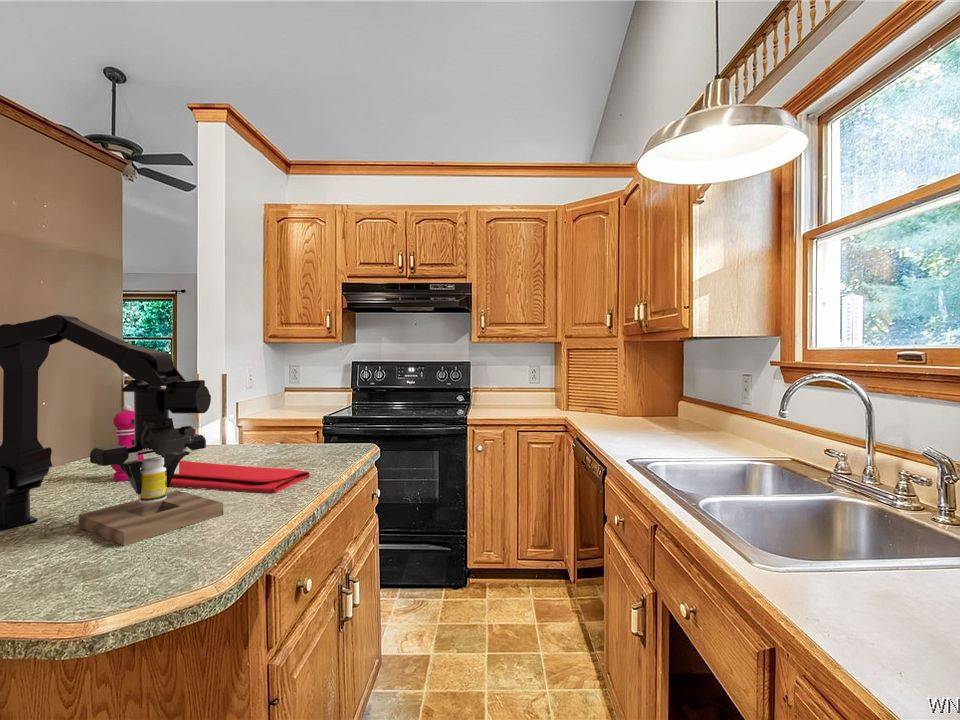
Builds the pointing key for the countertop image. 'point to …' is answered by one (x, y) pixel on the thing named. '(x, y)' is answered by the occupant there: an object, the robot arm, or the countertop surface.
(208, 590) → the countertop surface
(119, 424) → the pepper mill
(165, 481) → the supplement bottle
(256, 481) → the red folded cloth
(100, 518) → the socket board
